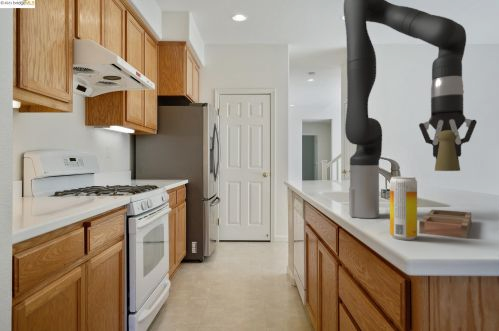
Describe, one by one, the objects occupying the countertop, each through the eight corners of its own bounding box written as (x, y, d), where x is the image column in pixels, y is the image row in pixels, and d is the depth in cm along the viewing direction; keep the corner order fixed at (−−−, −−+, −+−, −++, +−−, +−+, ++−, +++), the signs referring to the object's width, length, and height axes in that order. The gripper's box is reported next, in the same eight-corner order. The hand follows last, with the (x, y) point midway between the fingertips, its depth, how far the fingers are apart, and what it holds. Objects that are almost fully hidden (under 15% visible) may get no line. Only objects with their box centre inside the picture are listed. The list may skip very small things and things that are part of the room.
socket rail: (467, 238, 79) (467, 226, 79) (419, 232, 85) (419, 221, 85) (471, 222, 98) (471, 212, 98) (431, 218, 104) (431, 209, 104)
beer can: (418, 236, 81) (418, 176, 81) (415, 242, 76) (415, 178, 76) (392, 233, 85) (392, 176, 84) (387, 238, 80) (387, 177, 79)
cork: (464, 170, 85) (464, 128, 85) (439, 171, 86) (439, 129, 86) (454, 170, 91) (454, 130, 91) (431, 170, 92) (430, 131, 92)
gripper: (415, 96, 90) (415, 159, 90) (478, 90, 81) (478, 158, 82) (419, 100, 96) (419, 159, 96) (478, 94, 88) (478, 158, 88)
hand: (446, 158), depth 89 cm, fingers closed on cork, 4 cm apart
